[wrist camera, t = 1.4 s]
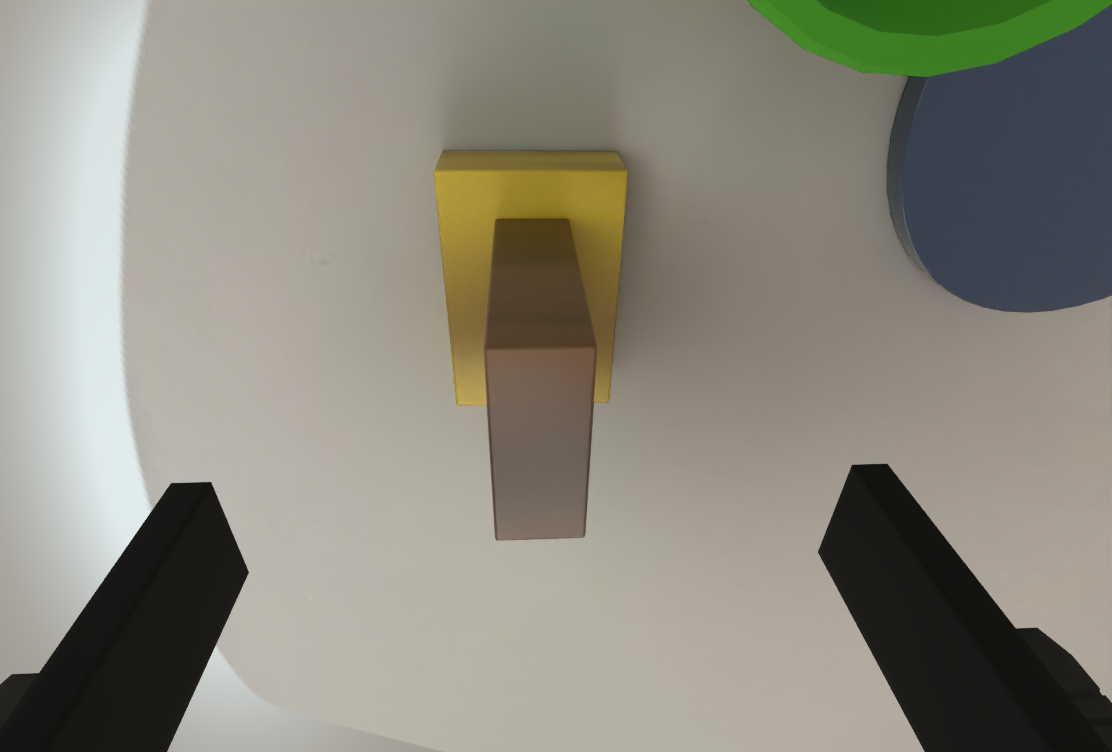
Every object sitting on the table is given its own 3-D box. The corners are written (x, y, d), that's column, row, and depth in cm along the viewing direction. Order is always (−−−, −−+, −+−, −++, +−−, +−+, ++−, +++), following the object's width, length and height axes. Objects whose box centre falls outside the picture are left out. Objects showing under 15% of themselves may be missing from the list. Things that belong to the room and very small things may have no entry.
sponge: (441, 150, 20) (383, 281, 11) (617, 150, 20) (693, 279, 12) (461, 371, 25) (432, 580, 16) (601, 368, 25) (646, 572, 17)
